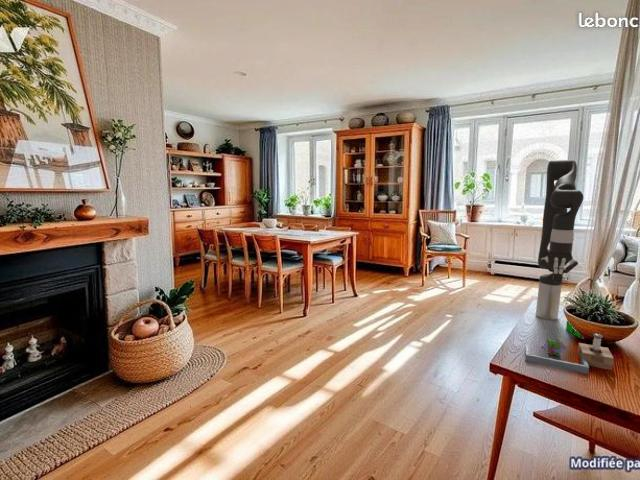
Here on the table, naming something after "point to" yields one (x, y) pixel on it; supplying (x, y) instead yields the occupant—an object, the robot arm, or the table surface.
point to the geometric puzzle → (554, 347)
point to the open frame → (557, 362)
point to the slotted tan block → (596, 356)
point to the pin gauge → (596, 342)
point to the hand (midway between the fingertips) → (556, 282)
